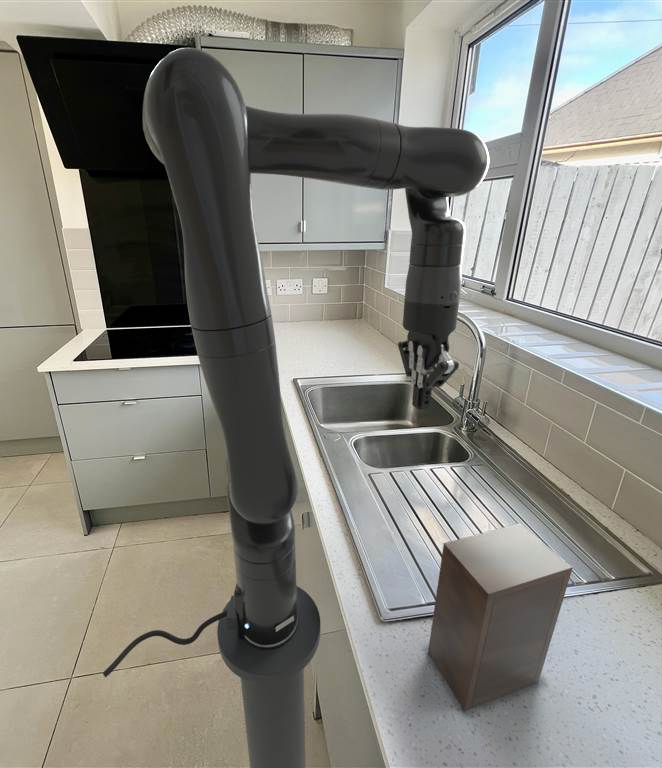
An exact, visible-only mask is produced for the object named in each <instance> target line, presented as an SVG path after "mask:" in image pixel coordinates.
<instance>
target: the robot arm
mask: <svg viewBox="0 0 662 768" xmlns="http://www.w3.org/2000/svg"><path fill="white" fill-rule="evenodd" d="M141 119H142V120H141V121H142V122H141V123H142V130H143V134H144V138H145V140H146V143H147V145H148V147H149V148H150V150H151V152H152V154H153V155H154V156H155V158H156V159H157V160H158V161H159V162H160V163H161V164H162V165H163V166H164V168H165V171H166V174H167V177H168V178H167V179H168V181H169V184H170V185H169V186H170V189H171V191H172V195H173V199H174V202H175V205H176V209H177V213H178V217H179V221H180V227H181V232H182V241H183V259H184V281H185V283H184V284H185V294H186V304H187V311H188V316H189V322H190V328H191V332H192V336H193V342H194V345H195V350H196V354H197V357H198V362H199V365H200V368H201V371H202V374H203V378H204V381H205V385H206V388H207V391H208V394H209V397H210V400H211V403H212V405H213V409H214V411H215V414H216V416H217V419H218V422H219V424H220V427H221V428H220V429H221V431H222V434H223V439H224V444H225V450H226V459H225V464H224V474H225V486H226V494H227V504H228V515H229V525H230V532H231V538H232V547H233V559H234V567H235V576H236V577H235V578H236V584H235V587H234V591H233V595H231V596H230V599H229V601H230V604H229V607H228V610H226V611H224V612H222V611H221V612H220V613H218V614H216V615H213V616H212V617H210V618H208V619H207V620H205V621H204V622H202V624H200V625H199V626H198V628H197V629H196V630H195V632H194V633H193V634H192V635H191V636H190V637H187V638H181V637H177V635H176V636H175V635H174V634H172V633H169V632H168V631H165V630H161V629H154V630H150V631H147V632H145V633H143V634H140V636H138V637H136V638H135V639H134V640H133V641H132V642H130V643H129V644H128V645H127V646H126V647H125V648H124V649H123V650H122V651H121V653H120V654H118V656H117V658H116V659H115V660H114V661H113V662H112V663H111V664H110V665H109V666H108V667H107V668H106V669H105V670H104V671H103V672H102V675H103V677H104V678H107V677H108V676H109V675H111V673H113V671H114V670H116V669H117V667H118V666H119V665H120V664H121V662H122V661H124V660H125V658H126V657H127V656H128V654H129V653H130V652H131V651H132V650H134V649H135V647H137V646H138V645H139V644H140V643H142V642H143V641H145V640H147V639H150V638H153V637H161V638H163V639H166V640H168V641H170V642H172V643H174V644H175V645H176V644H177V645H179V646H187V645H190V644H193V643H194V642H195V641H196V640H198V638H199V636H200V635H201V633H202V632H203V631H204V630H205V629H206V628H207V627H209V626H210V625H212V624H214V623H215V622H219V620H220V619H222V618H224V617H226V625H227V629H237V631H238V638H239V639H245V640H246V641H247V642H248V643H249V644H250V645H251V646H253V647H255V648H258V649H263V650H271V649H275V648H278V647H281V646H283V645H284V644H286V643H287V642H288V641H289V640H290V639H291V638H292V637H293V635H294V634H295V632H296V629H297V625H298V614H297V592H296V586H297V560H296V559H297V556H296V526H295V521H294V516H293V510H292V509H293V507H294V505H295V503H296V500H297V497H298V494H299V479H298V476H297V472H296V470H295V466H294V464H293V460H292V457H291V453H290V448H289V445H288V441H287V437H286V432H285V429H284V422H283V413H282V397H281V384H280V383H281V382H280V373H279V362H278V354H277V353H278V352H277V344H276V343H277V342H276V334H275V330H274V328H275V327H274V322H273V315H272V309H271V304H270V299H269V294H268V288H267V281H266V275H265V270H264V264H263V258H262V253H261V249H260V244H259V240H258V234H257V229H256V224H255V214H254V207H253V206H254V204H253V192H252V191H253V189H252V175H251V174H258V175H260V174H261V175H276V176H286V177H287V176H288V177H294V178H295V177H297V178H301V179H302V178H304V179H309V180H316V181H321V182H326V183H327V182H328V183H333V184H341V185H347V186H351V187H359V188H366V189H374V190H383V191H389V190H390V191H392V190H402V189H404V192H405V198H406V207H407V213H408V220H409V225H410V229H411V230H410V231H411V237H410V247H409V248H410V249H409V250H410V251H409V263H408V269H407V274H406V279H405V289H404V300H403V301H404V302H403V316H402V327H403V329H404V330H405V331H407V335H406V339H405V340H404V341H399V342H398V343H397V348H398V351H399V354H400V358H401V361H402V365H403V369H404V372H405V373H404V374H405V376H406V377H407V378H408V377H410V382H411V384H412V385H413V386H412V387H413V388H412V396H411V397H412V402H411V405H412V406H413V407H414V408H416V409H417V410H419V411H420V410H425V409H426V410H427V409H429V407H430V405H431V399H432V390H433V388H441V387H443V386H444V385H445V384H446V382H447V381H448V380H449V379H450V378H451V377H452V375H453V374H455V372H456V371H457V370H458V369H459V366H460V364H459V363H460V362H458V360H452V359H451V356H450V354H449V352H450V342H449V337H450V335H451V334H452V333H454V331H456V328H457V323H458V315H459V307H460V299H461V291H462V283H463V282H462V281H463V280H462V279H463V274H462V271H463V270H462V269H463V265H462V264H463V261H464V252H465V242H466V235H467V234H466V232H467V231H466V230H467V228H466V224H465V223H464V221H462V220H461V219H459V218H457V217H453V216H452V215H451V213H450V206H449V198H454V197H460V196H464V195H467V194H468V193H470V192H472V191H474V190H475V189H476V188H477V187H479V185H481V183H482V182H483V180H484V179H485V177H486V175H487V172H488V171H489V166H490V154H489V151H488V147H487V145H486V143H485V142H484V141H483V139H482V138H481V137H480V136H479V135H477V134H476V133H474V132H472V131H469V130H467V129H462V128H455V127H454V128H453V127H440V126H439V127H437V126H436V127H435V126H407V125H403V124H399V123H396V122H393V121H387V120H382V119H378V118H373V117H368V116H362V115H357V114H346V113H287V112H278V111H271V110H270V111H269V110H265V109H260V108H256V107H252V106H249V105H246V103H245V100H244V97H243V94H242V91H241V89H240V87H239V85H238V83H237V80H236V79H235V78H234V76H233V74H232V73H231V72H230V71H229V69H228V68H227V67H226V66H225V64H223V62H221V61H220V60H219V59H218V58H217V57H216V56H214V55H212V54H211V53H209V52H207V51H205V50H202V49H200V48H195V47H181V48H178V49H176V50H173V51H170V52H169V53H168V54H167V55H166V56H164V57H163V58H162V59H161V60H160V61H159V62H158V63H157V65H156V66H155V67H154V69H153V70H152V72H151V73H150V76H149V78H148V80H147V82H146V85H145V90H144V93H143V103H142V118H141Z"/></svg>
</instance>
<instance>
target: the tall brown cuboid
mask: <svg viewBox="0 0 662 768" xmlns="http://www.w3.org/2000/svg"><path fill="white" fill-rule="evenodd" d="M572 572H573V566H571V565H570V564H569V563H568V562H567V561H566V560H564V559H563V558H562V557H561V556H560V555H559V554H557V553H556V552H555V551H554V550H553V549H551V548H550V547H549V546H548V545H547V544H545V543H544V542H543V541H542V540H541V539H539V537H537V536H535V534H534V533H533V532H531V531H530V530H529V529H528V528H526V527H525V526H524V525H523V524H521V522H518V523H515V524H514V523H513V524H511V525H506V526H504V527H499V528H496V529H492V530H488V531H485V532H480V533H477V534H473V535H470V536H466V537H462V538H459V539H454V540H451V541H448V542H444V543H443V547H442V554H441V560H440V567H439V573H438V575H439V576H438V579H437V580H438V581H437V587H436V593H435V594H436V595H435V602H434V608H433V616H432V623H431V629H430V635H429V643H428V650H427V653H428V655H429V657H430V658H431V660H432V661H433V663H434V665H435V666H436V668H437V670H438V671H439V673H440V674H441V676H442V678H443V679H444V681H445V682H446V684H447V686H448V687H449V689H450V691H451V692H452V694H453V696H454V697H455V699H456V700H457V702H458V704H459V705H460V707H461V708H462V710H463V712H466V711H468V710H472V709H473V708H476V707H479V706H481V705H484V704H485V703H488V702H492V701H494V700H496V699H498V698H502V697H503V696H506V695H509V694H511V693H514V692H516V691H518V690H520V689H523V688H525V687H526V688H527V687H528V686H530V685H533V684H536V683H538V682H539V681H540V678H541V674H542V671H543V668H544V665H545V662H546V658H547V655H548V652H549V648H550V645H551V642H552V638H553V635H554V632H555V628H556V625H557V621H558V618H559V616H560V611H561V608H562V605H563V602H564V599H565V596H566V592H567V589H568V585H569V581H570V578H571V575H572Z"/></svg>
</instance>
